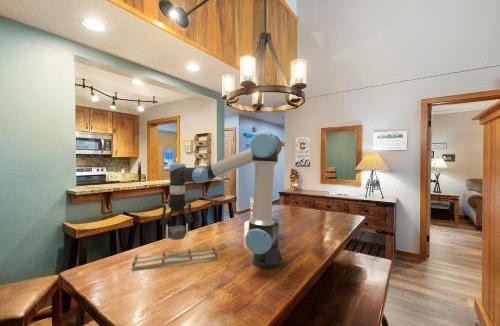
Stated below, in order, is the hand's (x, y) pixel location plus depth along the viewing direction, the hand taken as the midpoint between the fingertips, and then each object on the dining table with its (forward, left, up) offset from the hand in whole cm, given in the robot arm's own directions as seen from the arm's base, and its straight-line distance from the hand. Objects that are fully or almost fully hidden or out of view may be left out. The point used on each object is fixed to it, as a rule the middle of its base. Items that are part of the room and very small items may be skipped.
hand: (177, 237), depth 121 cm
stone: (+3, +1, -1) cm, 3 cm away
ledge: (0, 0, -12) cm, 12 cm away
